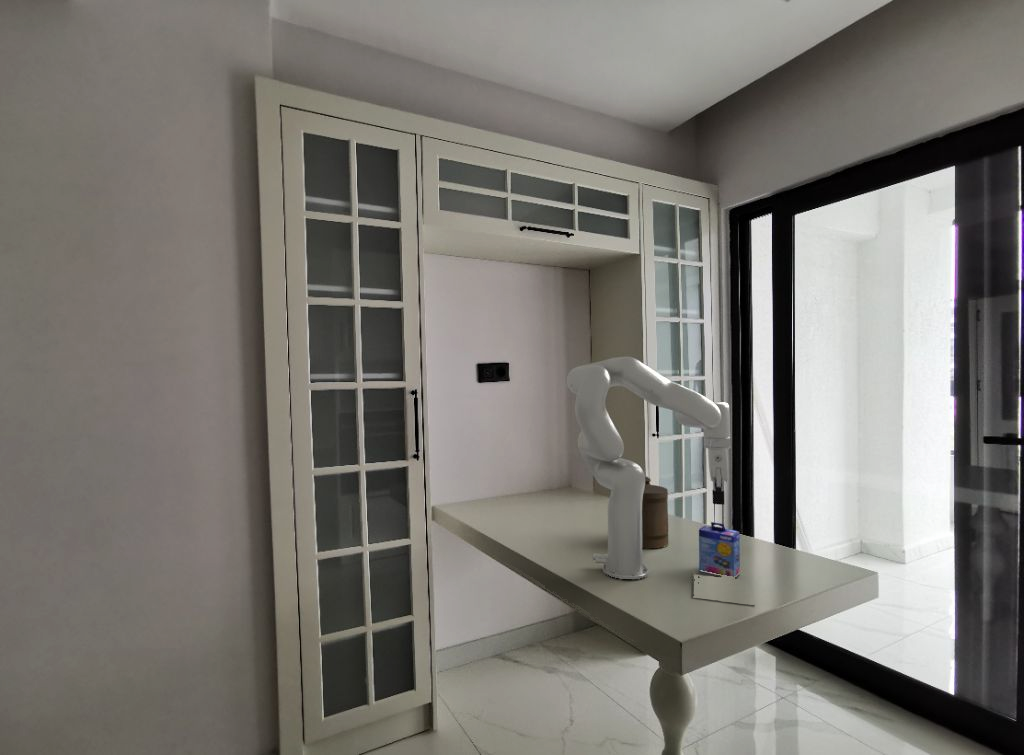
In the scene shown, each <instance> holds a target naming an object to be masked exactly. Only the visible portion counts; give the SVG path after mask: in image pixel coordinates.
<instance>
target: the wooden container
mask: <svg viewBox="0 0 1024 755" xmlns="http://www.w3.org/2000/svg"><path fill="white" fill-rule="evenodd" d="M651 481H652V480H651V478H650V477H649V476H646V475H645V488H644V493H643V500H642V548H659V549H661V548H660V547H664V546H666V545H667V546H669V513H668V512H669V511H668V510H669V509H668V508H669V507H668V505H669V504H668V499H669V498H668V497H669V492H668V488H666V487H664V486H661V485H655V484H651V483H650V482H651ZM667 546H666V547H667ZM664 548H665V547H664Z"/></svg>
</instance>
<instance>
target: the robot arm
mask: <svg viewBox="0 0 1024 755" xmlns="http://www.w3.org/2000/svg"><path fill="white" fill-rule="evenodd" d="M566 377H567V378H566V385H567V387H568V390H570V391H571V393H573V394H575V395H576V397H575V403H574V414H575V415H574V416H575V418H576V421H577V423H578V425H579V426H580V429H581V431H580V432H579V434H578V438H577V446H578V450H579V453H580V455H581V457H582V459H583V460H584V462H585V464H586V465H587V467H588V469H589V471H590V472H591V474H592V477H594V479H595V480H596V482H597V483H598V484H599V485H600V486H602V487H603V488H607V489H608V490H611V492H610V496H609V498H608V502H607V504H608V505H607V552H606V553H604V554H600V553H593V554H592V561H595V563H596V564H602V570H601V571H602V573H603V574H604V575H606V574H607V575H606V576H608V575H609V576H608V577H610V576H611V577H610V578H612V577H615V578H614V579H616V578H619V579H618V580H622V579H638V580H641V579H640V578H642V579H644V578H643V577H645V576H646V577H648V575H649V569H648V567H647V566H645V565H644V564H643V549H642V500H643V493H644V488H645V476H646V475H645V472H644V471H643V470H644V469H642V467H641V466H640V465H639V464H637V463H636V462H634V461H632V460H629V459H625V458H621V457H622V456H623V454H624V450H625V445H624V441H623V439H622V437H621V435H620V432H618V430H617V428H616V426H615V424H614V423H613V420H612V419H611V417H610V415H609V412H608V409H607V408H606V398H607V394H608V391H609V390H610V388H612V387H623V388H625V389H627V390H629V391H630V392H632V393H633V394H635V395H636V396H638V397H640V398H641V399H643V400H644V401H646V402H647V403H649V404H650V405H653V406H656V407H659V408H663V409H667V410H671V411H673V412H675V419H676V421H677V422H678V423H679V424H680V425H682V426H684V427H689V428H694V429H695V428H697V429H702V430H703V434H702V435H703V448H704V449H707V453H708V455H707V456H708V470H709V476H710V481H711V482H712V504H713V505H725V490H724V482H725V483H726V484H727V483H729V479H730V478H729V462H728V461H729V460H728V458H729V457H728V450H730V449H731V446H732V444H731V416H730V415H731V414H730V405H729V403H727V402H723V401H712V400H710V399H708V398H707V397H706V396H704V395H702V394H700V393H698V392H697V391H695V390H693V389H690V388H688V387H685V386H684V385H682V384H679V383H677V382H675V381H672V380H671V379H670V380H669V379H668V378H666V377H664V376H663V375H661V374H660V373H658V372H657V371H655V370H654V369H652V368H650V366H648V365H646V364H645V363H643V362H641V361H640V360H639V359H636V358H634V357H632V356H618V357H617V356H616V357H612V358H608V359H604V360H601V361H597V362H591V363H587V364H584V365H580V366H576V367H574V368H572V369H571V370H570V371H569V372H568V375H567V376H566ZM646 577H645V578H646Z"/></svg>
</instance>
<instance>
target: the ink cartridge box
mask: <svg viewBox="0 0 1024 755" xmlns="http://www.w3.org/2000/svg"><path fill="white" fill-rule="evenodd" d="M740 540H741V539H740V531H738V530H734V529H729V528H728V529H727V528H726V526H725V523H719V522H713V521H710V525H703V526H702V527H700V528H699V529H698V555H699V556H698V559H699V560H698V571H699V570H703V571H707V572H712V573H716V574H721V575H727V576H733V577H734V576H736V575H737V574H738V573H739V572H740V573H741V558H740V556H741V555H740V554H741V553H740V552H741V550H740V548H741V546H740Z"/></svg>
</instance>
